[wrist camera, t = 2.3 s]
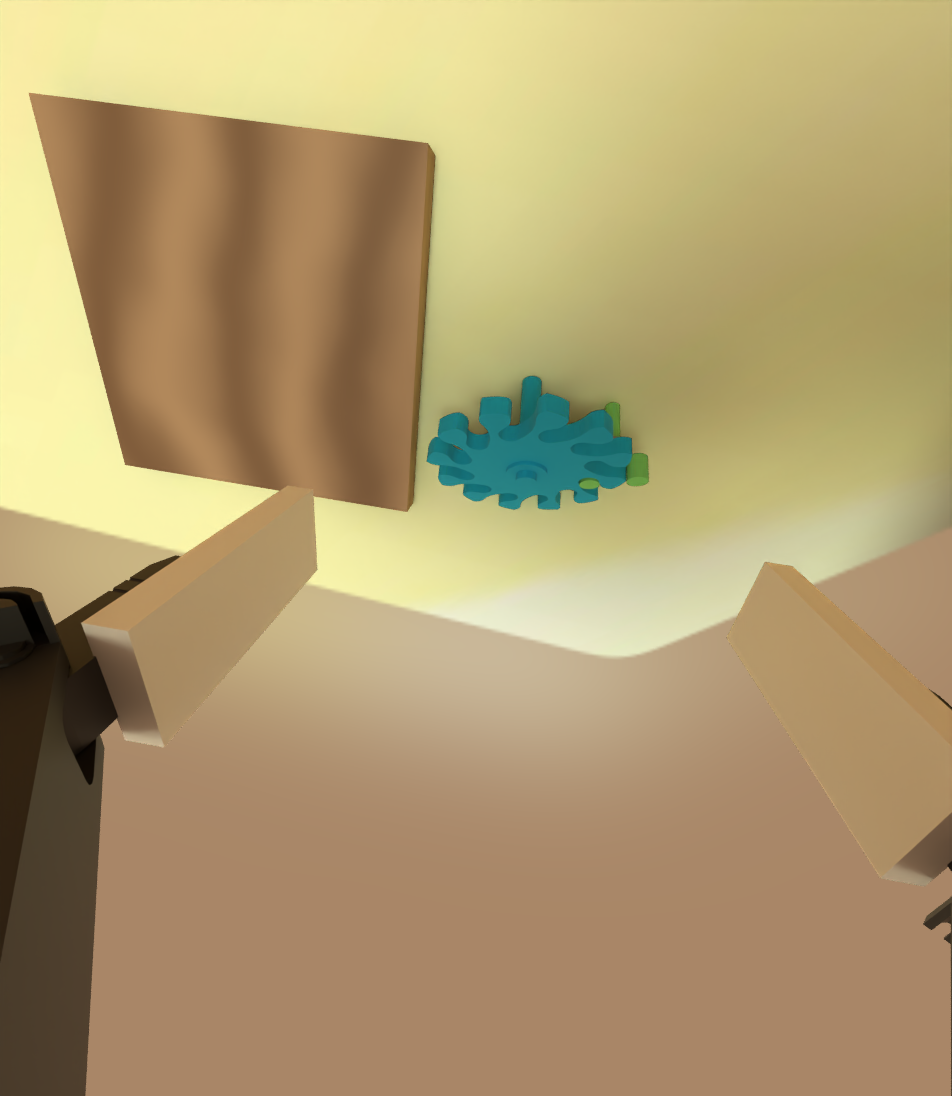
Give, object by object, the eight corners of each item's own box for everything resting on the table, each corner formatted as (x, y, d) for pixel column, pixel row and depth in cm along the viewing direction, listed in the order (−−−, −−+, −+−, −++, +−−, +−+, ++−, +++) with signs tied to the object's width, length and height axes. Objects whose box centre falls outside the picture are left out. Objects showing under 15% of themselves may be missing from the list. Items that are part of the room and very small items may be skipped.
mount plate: (435, 155, 20) (428, 143, 18) (412, 502, 27) (406, 511, 26) (61, 108, 20) (28, 93, 19) (144, 458, 28) (125, 464, 27)
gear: (424, 507, 26) (426, 407, 16) (436, 421, 27) (444, 285, 18) (603, 530, 27) (703, 448, 17) (603, 445, 28) (695, 329, 19)
